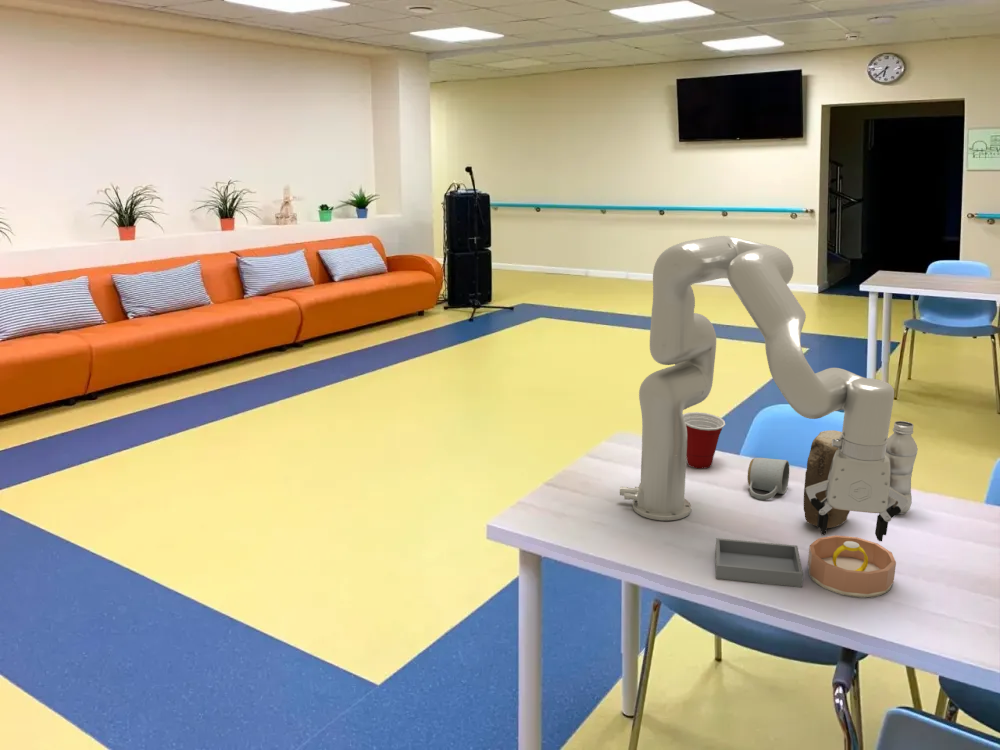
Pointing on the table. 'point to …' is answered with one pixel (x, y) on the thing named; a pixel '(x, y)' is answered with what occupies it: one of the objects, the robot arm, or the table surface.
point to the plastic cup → (702, 438)
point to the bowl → (851, 567)
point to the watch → (851, 547)
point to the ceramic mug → (768, 476)
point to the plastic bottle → (901, 461)
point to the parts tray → (758, 562)
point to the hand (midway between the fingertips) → (850, 534)
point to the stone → (821, 477)
